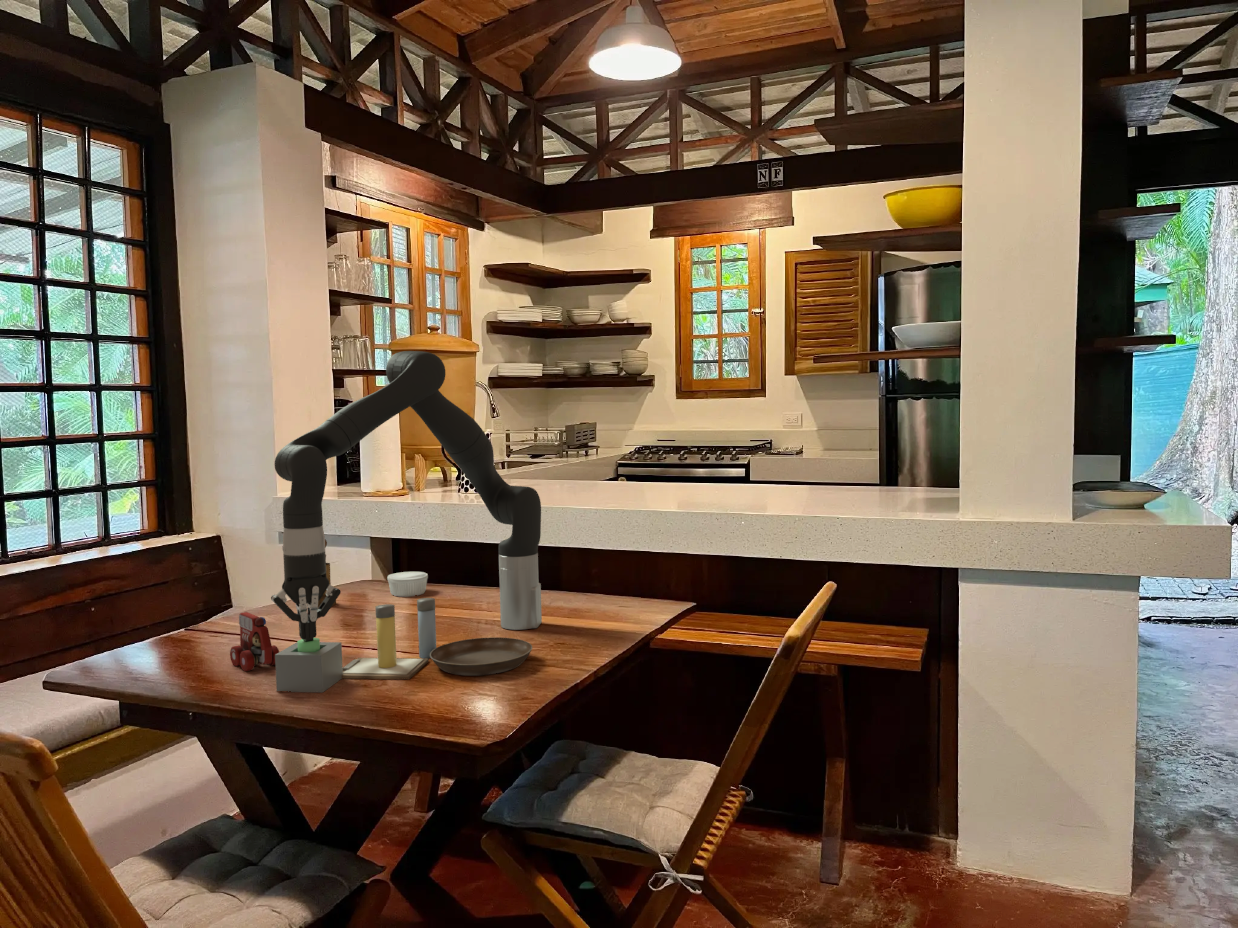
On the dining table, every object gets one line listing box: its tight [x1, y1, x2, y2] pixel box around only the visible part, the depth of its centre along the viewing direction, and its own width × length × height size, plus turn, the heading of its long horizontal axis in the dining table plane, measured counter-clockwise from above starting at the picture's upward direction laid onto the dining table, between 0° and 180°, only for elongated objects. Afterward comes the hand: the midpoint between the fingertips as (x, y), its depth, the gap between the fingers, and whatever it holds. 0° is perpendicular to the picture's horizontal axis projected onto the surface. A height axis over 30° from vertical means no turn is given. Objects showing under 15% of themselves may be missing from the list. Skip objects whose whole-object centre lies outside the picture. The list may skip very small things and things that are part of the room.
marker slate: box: [416, 597, 437, 659], centre depth 190 cm, size 4×4×12 cm
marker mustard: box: [375, 603, 397, 668], centre depth 181 cm, size 4×4×12 cm
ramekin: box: [386, 571, 429, 598], centre depth 254 cm, size 11×11×5 cm
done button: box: [297, 637, 321, 652], centre depth 172 cm, size 4×4×4 cm
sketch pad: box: [342, 657, 430, 680], centre depth 182 cm, size 15×12×1 cm
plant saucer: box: [430, 636, 533, 677], centre depth 184 cm, size 21×21×3 cm
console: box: [274, 641, 344, 693], centre depth 173 cm, size 9×9×7 cm
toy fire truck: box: [229, 611, 280, 672], centre depth 186 cm, size 7×12×10 cm, turn 44°
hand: (308, 640), depth 172 cm, fingers closed
